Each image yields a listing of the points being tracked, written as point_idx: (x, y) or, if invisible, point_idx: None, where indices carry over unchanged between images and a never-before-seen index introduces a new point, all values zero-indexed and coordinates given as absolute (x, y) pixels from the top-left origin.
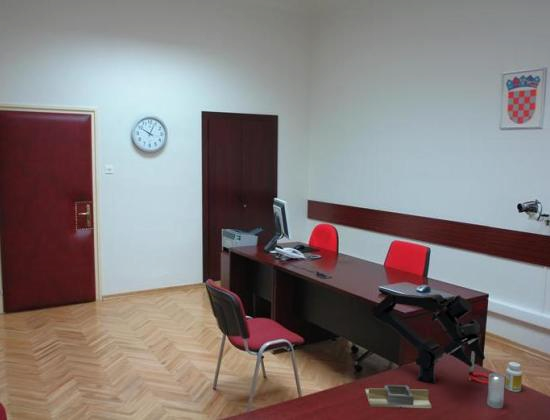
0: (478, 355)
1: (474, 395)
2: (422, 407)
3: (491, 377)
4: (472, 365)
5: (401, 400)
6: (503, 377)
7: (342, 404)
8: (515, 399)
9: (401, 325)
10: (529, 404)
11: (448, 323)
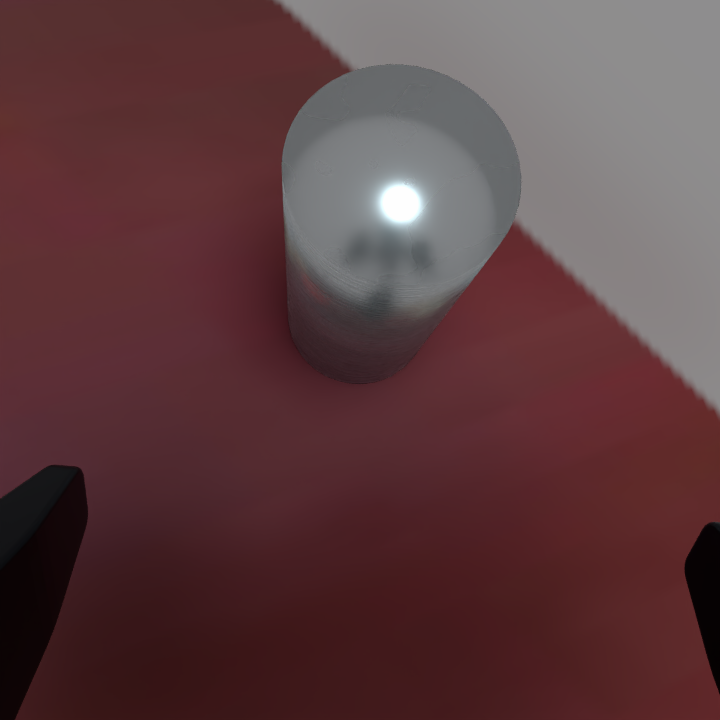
0: (30, 655)
1: (305, 542)
2: None
3: (512, 220)
4: (716, 524)
5: None
6: (373, 81)
7: None
8: (98, 206)
9: None
10: (117, 91)
11: None
